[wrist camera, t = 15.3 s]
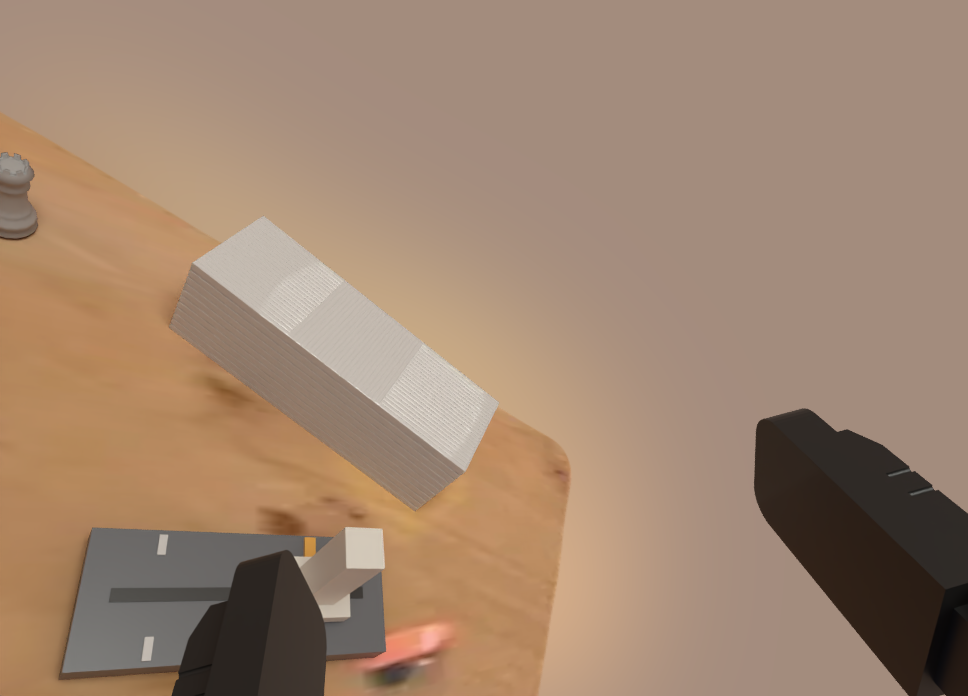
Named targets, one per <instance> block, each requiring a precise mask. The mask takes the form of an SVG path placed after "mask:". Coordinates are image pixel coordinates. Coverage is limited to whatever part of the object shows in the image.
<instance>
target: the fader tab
mask: <svg viewBox="0 0 968 696" xmlns="http://www.w3.org/2000/svg"><path fill="white" fill-rule="evenodd" d="M294 558H295V560H296V562H297V564H298V566H299V568H300V570H301V572H302V574H303V576H304V578H305V580H306V582H307V584H308V586H309V588H310V590H311V592H312V594H313V596H314V598H315V600H316V602H317V604H318V606H319V608H320V610H321V613H322V616H323V620H324V622H341V621H345V620H347V619H348V618H350V593H351V592H353V591H354V590H355V589H357V588H358V587H360V586H361V585H362V584H364V583H365V582H367V581H368V580H370V579H371V578H372V577H374V576H375V575H377V574H378V573H380V572H381V571H382V570H384V569H385V564H384V548H383V531H382V529H374V528H354V527H345V528H344V529H343V530H341V531H340V532H339V533H338V534H337V535H336V536H335V537H334V538H332V539H331V540H330V541H329V542H328V543H327V544H326V545H325V546H324V547H322V548H321V549H320V550H319V551H318V552H317V553H316V554H315V555H313V556H312V557H298V556H294Z"/></svg>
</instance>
